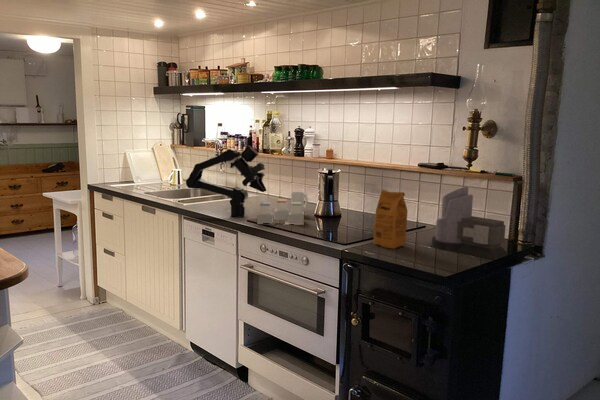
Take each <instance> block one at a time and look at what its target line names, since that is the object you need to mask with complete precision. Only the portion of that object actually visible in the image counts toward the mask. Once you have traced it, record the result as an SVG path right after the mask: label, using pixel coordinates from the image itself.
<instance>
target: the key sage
mask: <svg viewBox="0 0 600 400" xmlns="http://www.w3.org/2000/svg"><path fill="white" fill-rule="evenodd" d="M301 203H302V202H292V214H301Z"/></svg>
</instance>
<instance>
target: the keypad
mask: <svg viewBox="0 0 600 400" xmlns="http://www.w3.org/2000/svg"><path fill="white" fill-rule="evenodd" d="M273 217H274V219H276V220H287V221H285V224H284V225H289V224H294V225H293V226H296V225H298V226H299V225H301V226H304V223H305V221H304V220H305V211H304V212H301V214H292V212H291V211H290V209H288V208H287V211H277V208H275V209H274V212H271V211H270V215H266V214H260V211H258V212H257V217H256V218H257V220H256V221H257V225H264V224H263V223H271V224H270V225H273V224H272V222H273Z"/></svg>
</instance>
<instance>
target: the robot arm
mask: <svg viewBox="0 0 600 400" xmlns="http://www.w3.org/2000/svg"><path fill="white" fill-rule="evenodd" d="M258 156H259V152H258V151H257V150H256V149H255V148H253V147H252V146H251V145H247V146H246V148H245V149H243V150H242V151H238V150H237V149H236V148H235V149H234V148H230V149H226V150H225V151H223V152H222V153H220V154H219V155H217V156H214V157H211V158H209V159H206V160H205V161H201V162H200V163H195V164H194V167H193V169H192V171H191V173H190V174H189V176H188V178H186V180H185V185H186V187H187V188H189V189H193V190H204V191H208V192H211V193H215V194H219V195H221V196H225V197H228V198H230V200H229V204H230V215H229V216H230V218H243V217H244V216H246V206H245V202H246V200H247V199H248V198H249V193H248V192H247V190H246V189H245V188H244V187H247V186H248V187H249V188H252V189H255V190H257V191H259V192H262V193H264V192H267V187H266V186H265V184H264V182H263V179H264V177H265V176H266V174H265V173H264V172H261V171H264V170H266V168H265V164H264V163H262V162H259V163H257V164H256V165H253V166H252V165H249V163H252V162H253V161H254V160H255V159H256V158H257V157H258ZM230 161H233V162H230ZM225 162H230V166H229V167H230V169H234V168H235V169H237V171H238V172H239V173H240V176H241V177H244V179H243V180H242V183H241V184H242V186H244V187H243V188H241V187H239V186H235V187H233V188H231V187H230V188H229V187H225V186H222V185H219V184H215V183H212V182H208V181H207V180H205V179H204V178H202V177H203V172H204V170H206V169H208V168H212V167H213V166H217V165H219V164H221V163H225ZM248 184H249V185H248Z"/></svg>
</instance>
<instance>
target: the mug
mask: <svg viewBox="0 0 600 400" xmlns="http://www.w3.org/2000/svg"><path fill="white" fill-rule="evenodd" d="M290 197H291V198H290V201H291V202H290V203H291V204H290V205H291V209H290V212H292V202H302V203H301V212H304V213H305V211H304V210H306V209H307V206H308V204H309V203H308V201H309V199H308V196H307V193H305V192H304V191H291V192H290ZM304 202H305V203H304Z"/></svg>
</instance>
